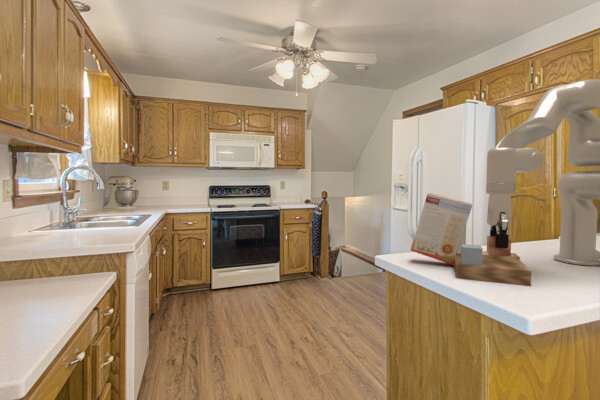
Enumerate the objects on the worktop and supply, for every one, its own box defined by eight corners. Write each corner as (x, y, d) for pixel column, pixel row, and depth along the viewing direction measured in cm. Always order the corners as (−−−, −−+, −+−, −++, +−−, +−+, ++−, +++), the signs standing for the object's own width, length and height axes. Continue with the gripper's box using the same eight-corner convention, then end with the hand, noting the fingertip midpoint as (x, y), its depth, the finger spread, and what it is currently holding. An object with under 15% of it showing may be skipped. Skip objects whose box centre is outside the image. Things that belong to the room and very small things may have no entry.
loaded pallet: (515, 259, 98) (516, 237, 98) (519, 263, 93) (520, 240, 92) (478, 256, 102) (479, 235, 102) (480, 260, 97) (481, 238, 96)
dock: (516, 270, 100) (517, 258, 100) (530, 285, 85) (531, 271, 85) (453, 264, 107) (453, 252, 107) (456, 277, 92) (456, 264, 92)
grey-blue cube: (479, 262, 94) (480, 245, 94) (481, 266, 90) (482, 248, 90) (460, 260, 96) (461, 244, 96) (462, 264, 92) (462, 247, 92)
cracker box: (453, 261, 109) (473, 203, 105) (452, 265, 103) (473, 204, 100) (412, 247, 115) (429, 192, 111) (409, 250, 109) (427, 192, 106)
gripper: (482, 188, 106) (480, 239, 106) (490, 189, 90) (488, 249, 91) (508, 188, 103) (507, 241, 104) (522, 189, 87) (519, 251, 88)
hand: (498, 244), depth 97 cm, fingers open, 9 cm apart
